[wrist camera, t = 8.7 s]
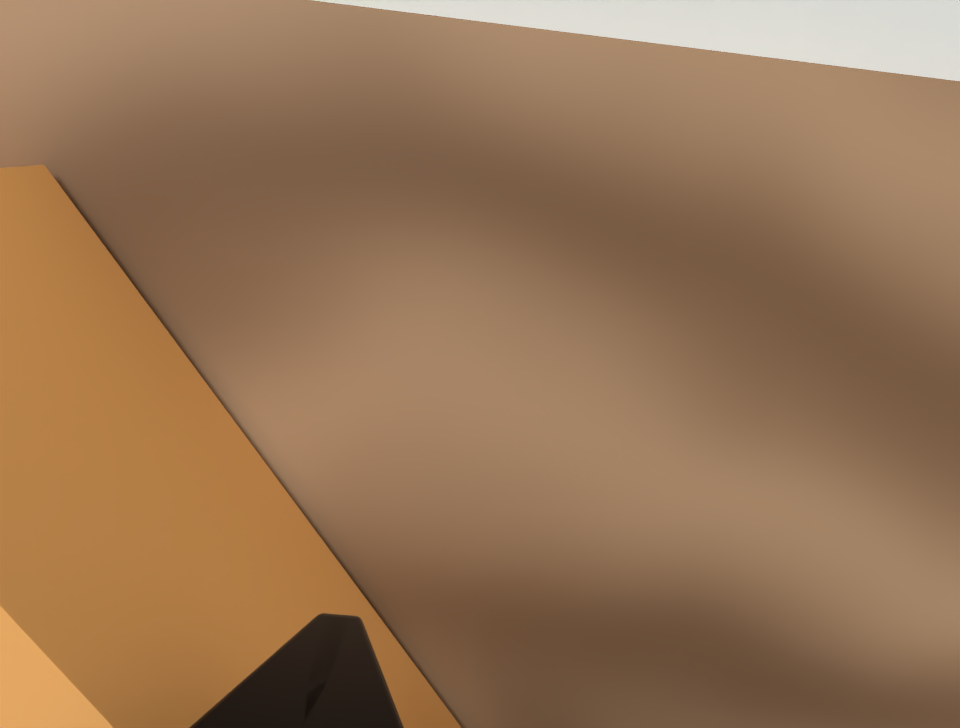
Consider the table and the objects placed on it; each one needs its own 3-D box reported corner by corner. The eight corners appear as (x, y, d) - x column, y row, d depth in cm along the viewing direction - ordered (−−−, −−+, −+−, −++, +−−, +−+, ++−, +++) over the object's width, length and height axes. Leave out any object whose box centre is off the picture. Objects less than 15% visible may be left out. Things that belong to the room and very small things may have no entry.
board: (913, 993, 20) (952, 1064, 18) (46, 978, 18) (9, 1057, 16) (1243, 129, 14) (1344, 128, 12) (-38, -29, 12) (-108, -54, 10)
